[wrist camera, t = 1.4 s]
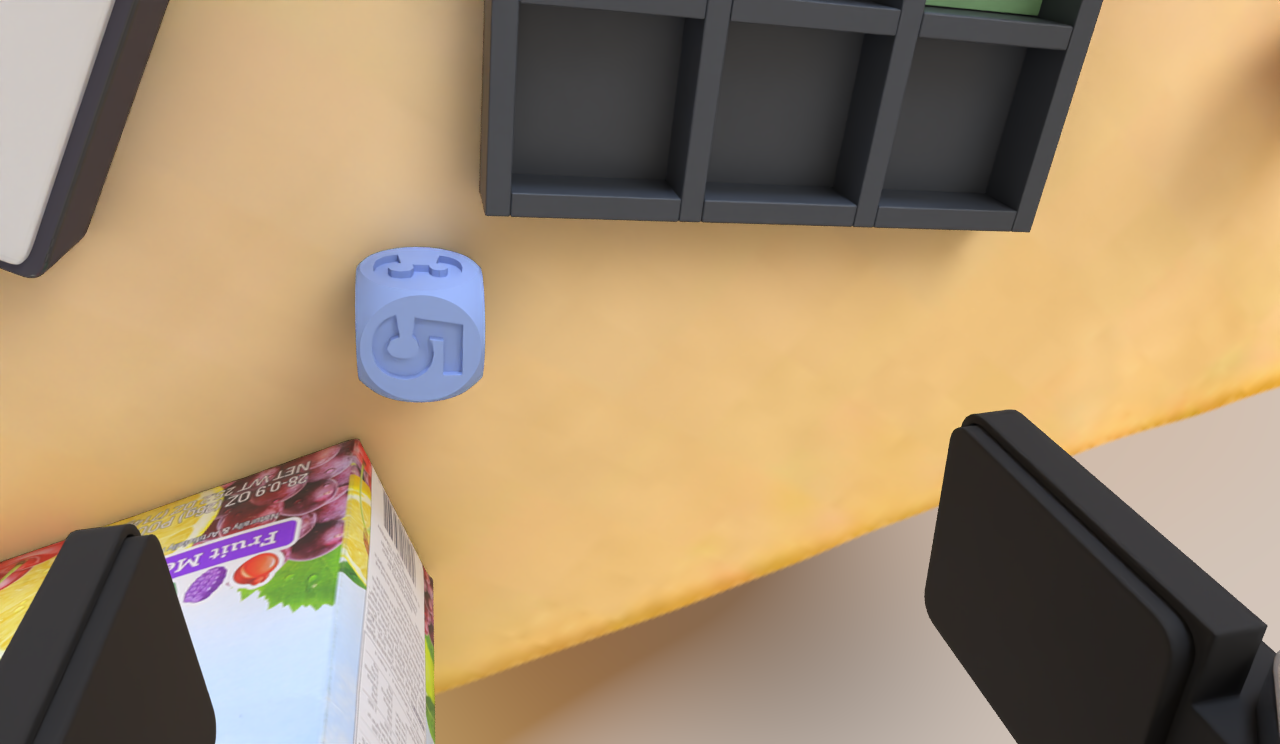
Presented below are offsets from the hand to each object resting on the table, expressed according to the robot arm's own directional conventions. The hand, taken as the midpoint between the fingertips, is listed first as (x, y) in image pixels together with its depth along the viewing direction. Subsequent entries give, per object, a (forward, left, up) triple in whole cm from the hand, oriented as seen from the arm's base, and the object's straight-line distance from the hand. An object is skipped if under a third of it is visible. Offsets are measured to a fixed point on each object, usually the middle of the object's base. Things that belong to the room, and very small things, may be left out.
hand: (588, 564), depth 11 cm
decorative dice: (-2, -6, -23) cm, 24 cm away
